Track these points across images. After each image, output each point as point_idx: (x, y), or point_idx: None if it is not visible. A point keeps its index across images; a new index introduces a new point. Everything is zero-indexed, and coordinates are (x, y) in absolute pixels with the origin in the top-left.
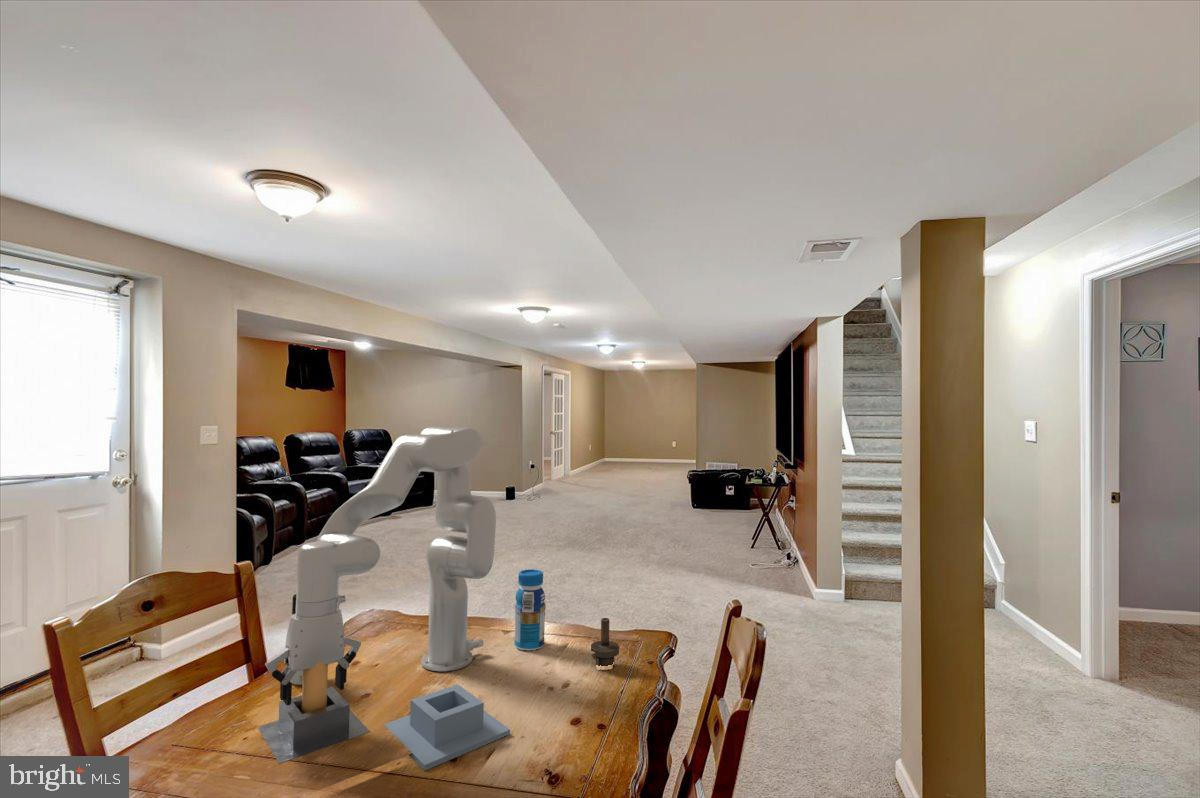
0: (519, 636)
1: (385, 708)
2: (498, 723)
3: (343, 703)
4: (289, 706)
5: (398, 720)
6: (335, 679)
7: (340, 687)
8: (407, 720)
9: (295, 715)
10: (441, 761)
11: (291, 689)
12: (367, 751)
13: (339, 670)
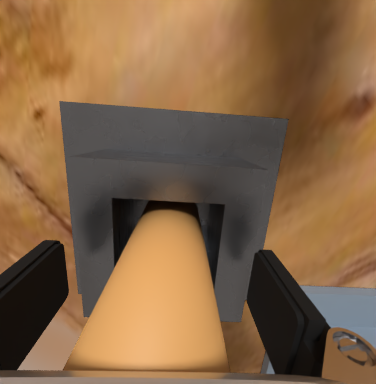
0: None
1: (340, 210)
2: None
3: (231, 306)
4: (93, 219)
5: (315, 297)
6: (264, 268)
7: (250, 308)
8: (325, 308)
9: (96, 286)
10: None
11: (27, 351)
12: (221, 326)
13: (283, 367)
